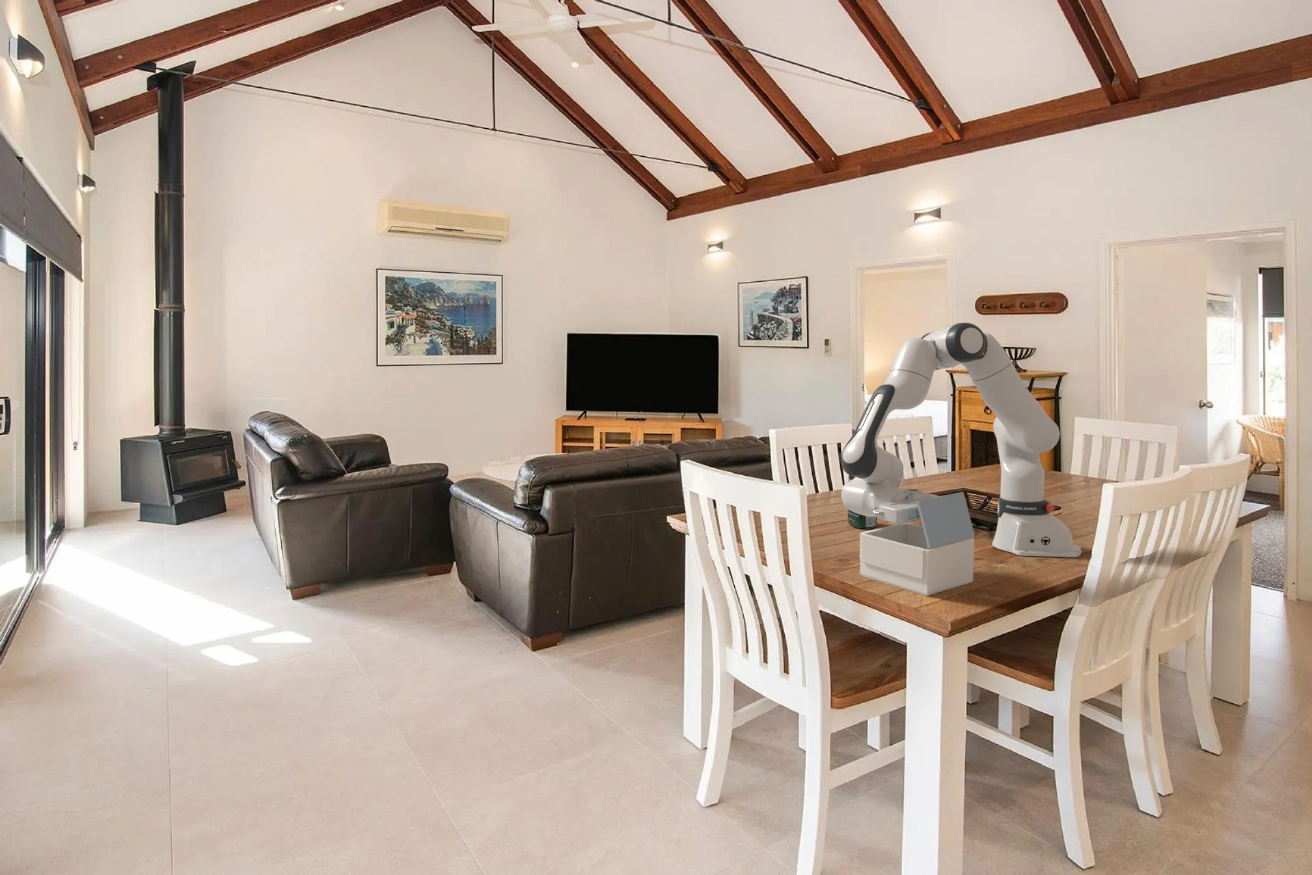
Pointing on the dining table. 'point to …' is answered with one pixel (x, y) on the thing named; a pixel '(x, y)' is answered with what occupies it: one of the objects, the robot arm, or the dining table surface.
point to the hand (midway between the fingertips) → (942, 515)
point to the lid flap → (945, 519)
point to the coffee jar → (860, 517)
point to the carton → (915, 559)
